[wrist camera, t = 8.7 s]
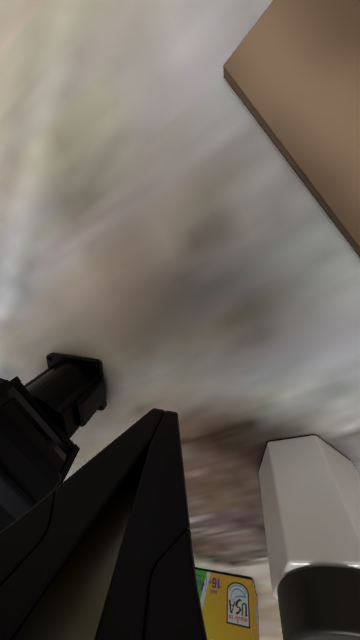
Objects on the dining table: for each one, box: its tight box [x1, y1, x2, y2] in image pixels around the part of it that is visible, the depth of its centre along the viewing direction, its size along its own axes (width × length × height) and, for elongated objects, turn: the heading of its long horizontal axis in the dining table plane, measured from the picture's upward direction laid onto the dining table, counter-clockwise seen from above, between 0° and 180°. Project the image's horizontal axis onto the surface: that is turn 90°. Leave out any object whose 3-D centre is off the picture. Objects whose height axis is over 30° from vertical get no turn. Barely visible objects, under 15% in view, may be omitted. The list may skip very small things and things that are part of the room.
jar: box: [259, 435, 360, 640], centre depth 17 cm, size 9×8×12 cm
